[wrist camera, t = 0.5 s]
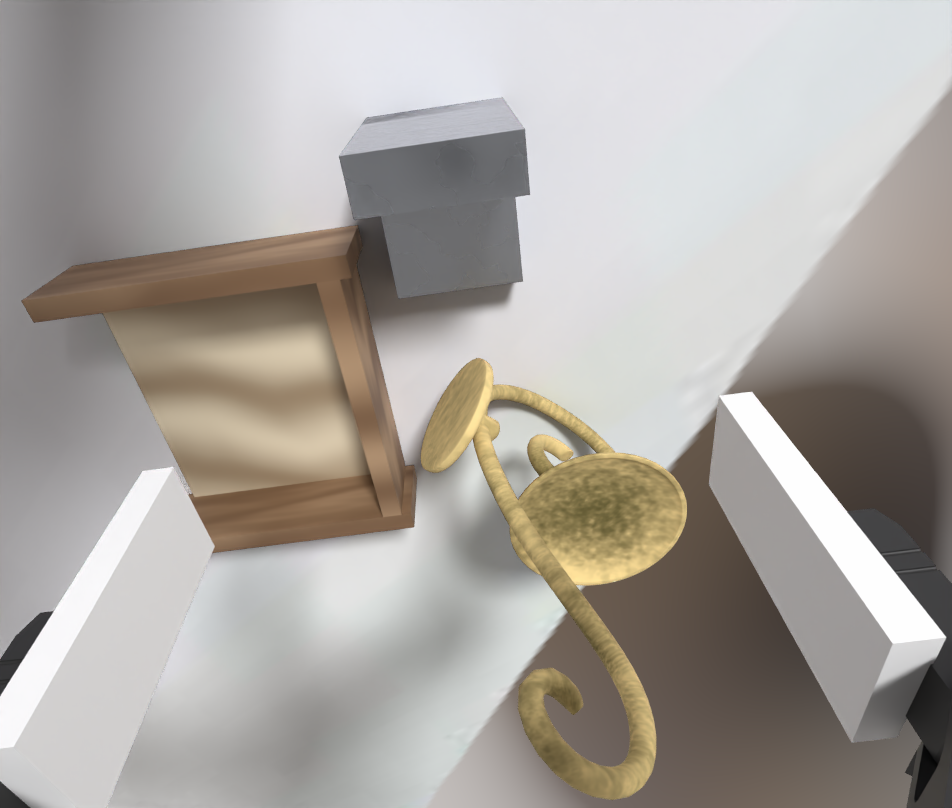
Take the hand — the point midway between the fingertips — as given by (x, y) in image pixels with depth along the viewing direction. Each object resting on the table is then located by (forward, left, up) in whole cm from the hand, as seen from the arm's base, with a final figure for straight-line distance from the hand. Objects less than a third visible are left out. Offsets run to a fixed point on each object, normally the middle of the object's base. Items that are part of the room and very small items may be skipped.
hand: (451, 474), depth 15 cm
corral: (+9, -14, -23) cm, 28 cm away
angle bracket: (-1, 0, -23) cm, 23 cm away
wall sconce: (+13, +4, -23) cm, 27 cm away
